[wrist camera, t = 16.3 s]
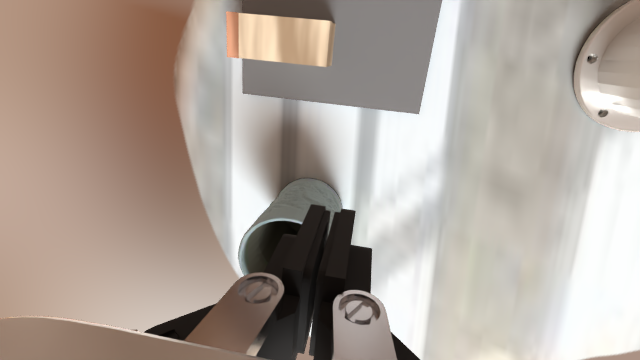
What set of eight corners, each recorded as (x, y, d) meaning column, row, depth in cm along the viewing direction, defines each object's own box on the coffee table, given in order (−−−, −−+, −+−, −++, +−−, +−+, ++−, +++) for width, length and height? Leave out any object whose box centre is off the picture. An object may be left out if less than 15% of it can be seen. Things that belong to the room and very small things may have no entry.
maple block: (330, 20, 30) (226, 11, 31) (326, 67, 31) (227, 56, 32) (335, 24, 33) (242, 16, 35) (331, 65, 35) (242, 56, 36)
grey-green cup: (329, 161, 40) (311, 203, 29) (361, 230, 42) (355, 292, 31) (260, 189, 43) (218, 236, 32) (293, 251, 45) (266, 315, 34)
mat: (443, -12, 31) (444, -13, 31) (418, 112, 36) (418, 114, 35) (245, -26, 34) (242, -28, 33) (245, 92, 38) (242, 93, 38)
